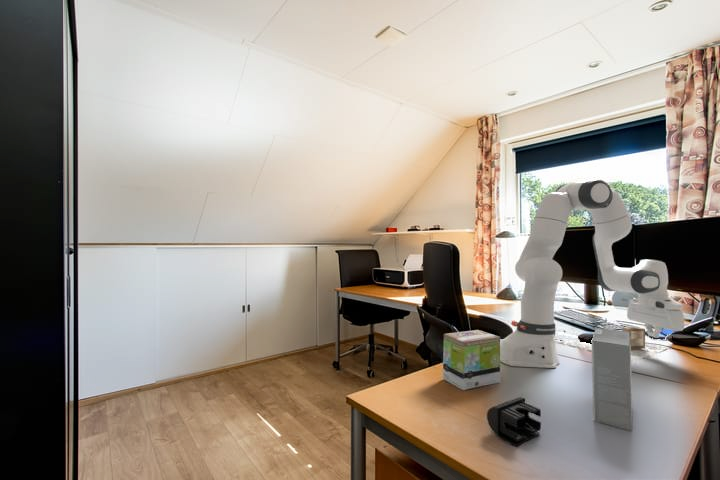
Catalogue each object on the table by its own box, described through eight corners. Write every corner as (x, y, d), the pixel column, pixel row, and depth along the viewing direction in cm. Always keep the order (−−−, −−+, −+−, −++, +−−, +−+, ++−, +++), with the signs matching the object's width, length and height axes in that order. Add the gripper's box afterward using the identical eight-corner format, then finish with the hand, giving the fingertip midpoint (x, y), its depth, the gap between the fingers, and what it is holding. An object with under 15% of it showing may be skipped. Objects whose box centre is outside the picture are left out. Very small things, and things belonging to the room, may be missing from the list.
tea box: (464, 392, 96) (464, 341, 97) (442, 379, 105) (442, 333, 106) (501, 383, 103) (501, 335, 103) (477, 371, 112) (477, 328, 112)
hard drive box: (596, 398, 92) (596, 327, 93) (632, 406, 87) (631, 331, 88) (592, 421, 80) (591, 339, 81) (632, 432, 75) (631, 345, 76)
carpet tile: (667, 351, 136) (667, 346, 136) (633, 364, 121) (633, 359, 121) (568, 330, 170) (568, 326, 170) (532, 338, 155) (532, 334, 156)
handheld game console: (641, 333, 163) (640, 318, 163) (668, 335, 159) (668, 319, 159) (652, 339, 151) (652, 323, 151) (682, 342, 147) (682, 325, 147)
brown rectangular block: (629, 349, 133) (629, 329, 133) (622, 346, 136) (622, 327, 136) (645, 348, 134) (645, 329, 134) (638, 346, 137) (638, 326, 137)
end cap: (513, 420, 81) (513, 392, 81) (542, 435, 74) (541, 405, 75) (486, 432, 76) (486, 402, 76) (514, 448, 69) (514, 416, 70)
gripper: (622, 297, 138) (622, 330, 138) (671, 305, 118) (672, 344, 117) (636, 296, 138) (637, 329, 138) (687, 305, 118) (688, 344, 118)
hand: (653, 336), depth 127 cm, fingers closed
